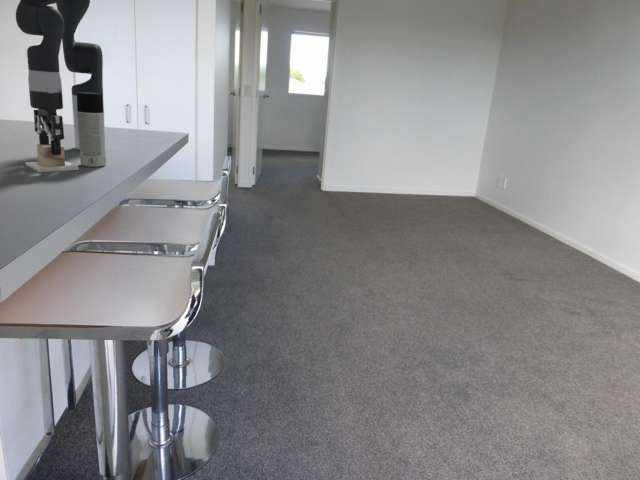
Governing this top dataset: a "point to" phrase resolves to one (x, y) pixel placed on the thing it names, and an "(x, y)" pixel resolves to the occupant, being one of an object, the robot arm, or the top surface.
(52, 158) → the letter cube
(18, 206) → the top surface
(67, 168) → the reading tile
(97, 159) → the tall grey carton
